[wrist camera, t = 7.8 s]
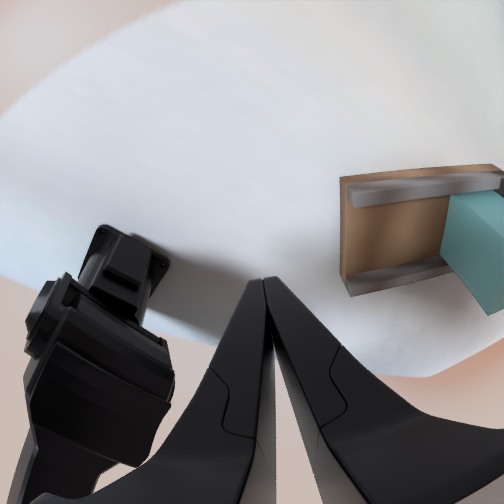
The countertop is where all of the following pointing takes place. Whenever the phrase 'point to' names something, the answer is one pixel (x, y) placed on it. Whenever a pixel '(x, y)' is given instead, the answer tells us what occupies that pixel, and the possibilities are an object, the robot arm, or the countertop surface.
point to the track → (401, 222)
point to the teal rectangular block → (477, 245)
